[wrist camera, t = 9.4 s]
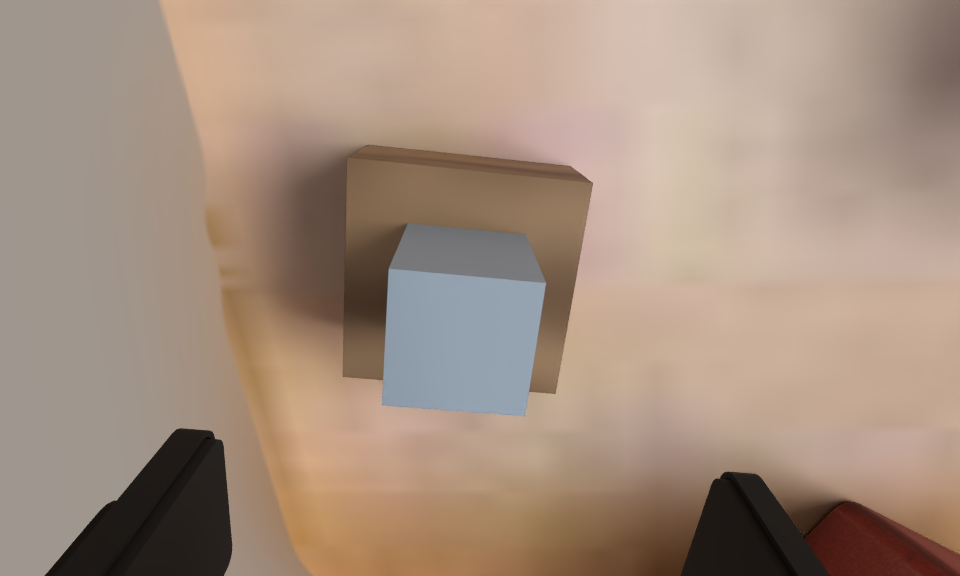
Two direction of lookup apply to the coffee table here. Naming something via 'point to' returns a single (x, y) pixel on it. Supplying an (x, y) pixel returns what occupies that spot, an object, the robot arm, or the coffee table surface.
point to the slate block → (461, 321)
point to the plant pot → (876, 546)
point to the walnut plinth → (467, 205)
